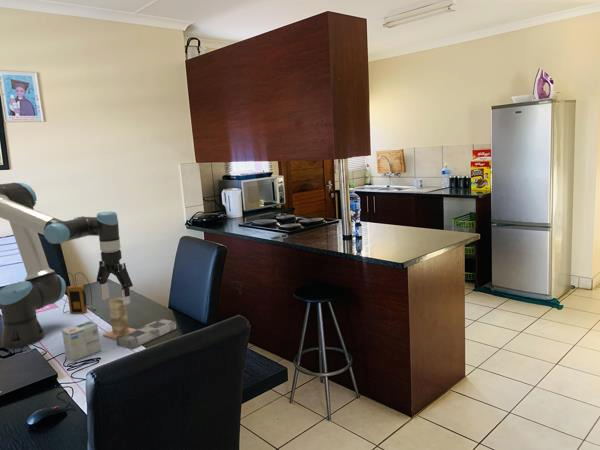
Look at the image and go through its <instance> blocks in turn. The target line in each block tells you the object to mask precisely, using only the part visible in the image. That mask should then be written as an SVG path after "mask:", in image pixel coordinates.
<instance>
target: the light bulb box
mask: <svg viewBox="0 0 600 450" xmlns="http://www.w3.org/2000/svg"><path fill="white" fill-rule="evenodd" d="M61 333H62V338H63V345H64V352H65V356H66V358H67V359H69V360H71V361H72V362H74V361H77V360H80V359H83V358H84V357H85V358H86V357H88V356H90V355H92V354H96V353H98V352H100V351H101V350H102V349H101V348H102V347H101V341H100V334H99V326H98V323H95V322H94V321H90V320H88V321H86V322H82V323H80V324H79V323H78V324H76V325H74V326H70V327H67V328H63V329H61Z"/></svg>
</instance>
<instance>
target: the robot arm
mask: <svg viewBox="0 0 600 450" xmlns="http://www.w3.org/2000/svg"><path fill="white" fill-rule="evenodd" d="M37 201H38V200H37V195H36V192H35V190H34V189H33V187H31V185H28V184H27V183H25V182H11V183H10V182H9V183H7V182H6V183H1V184H0V219H4V220H6V221H8V222H9V225H10V228H11V231H12V234H13V236H14V240H15V242H16V245H17V248H18V251H19V254H20V256H21V260H22V263H23V267H24V269H25V273H26V277H25V278H24V280H23V281H18V282H13V283H10V284H8V285H6V286H4V287H2V288H0V311H1V318H2V323H3V328H2V333H1V338H0V344H1V345H0V346H1V347H2V348H5V349H16V348H22V347H27V346H30V345H32V344H35V343H37V342H39V341H41V340H43V339H44V338H45V331H44V329H43V327H42V325H41V324H40V322H39V320H38V318H37V317H38V316H37V310H40V309H43V308H45V307H47V306H49V305H52V304H55V303H56V302H59V301H61V300H62V299H63V298H64V296H65V295H66V293H67V289H66V287H67V285H66V280H65V278H63V277H61V275H59V274H56V272H55V269H52V268H50V266H49V263H48V261H47V257H46V254H45V251H44V248H43V245H42V242H41V238H40V237H39V234H41V235H43V236H44V238H45V240H47V242H48V243H50V244H53V245H55V244H56V245H57V244H63V243H65V242H69V241H73V240H77V239H81V238H85V237H90V236H92V237H93V236H94V237H98V238H99V250H100V251H101V252H100V257H101V260H99V264H98V265H99V266H98V270H97V271H98V272H97V276H96V282H97V283H99V285H100V290H101V298H102V300H103V301H104V300H107V299H110V291H109V284H108V283H109V282H108V279H109V277H110V276H111V274H112V275H113V276H115V277H116V279H117V280H118V283H119V285H121V295H122V297H121V298H123V305H126V306H127V305H128V304H130V303H131V298H130V296H131V295H130V288H132V287H133V286H134V285H133V283H132V280H131V277H130V275H129V272H128V270H127V266H126V263H125V262H124V263H120V261H121V260H122V250H121V240H120V238H121V237H120V229H119V219H118V214H117V212H116V211H102V212H98V213H97V214H96V216H77V217H74V218H73V219H70V220H61V219H58V218H55V217H53V216H50V215H49V214H46V213H43V212H41V211H39V210H36V209H35V208H34V207H35V206H36V204H37Z"/></svg>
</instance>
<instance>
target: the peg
mask: <svg viewBox="0 0 600 450" xmlns="http://www.w3.org/2000/svg"><path fill="white" fill-rule="evenodd" d="M108 307H109V314H110V322H111V331H113V334H117V335H121V334H124V333H126V332H129V328H130V327H129V320H128V312H127V304H126V305H123V298H122V297H120V296H119V297H115V298H112V299H109V300H108Z"/></svg>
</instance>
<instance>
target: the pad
mask: <svg viewBox="0 0 600 450" xmlns="http://www.w3.org/2000/svg"><path fill="white" fill-rule="evenodd" d="M135 329H136V328H132V327H129V332H130V331H133V330H135ZM126 333H128V332H126ZM124 334H125V333H124ZM121 335H123V334H121ZM121 335H117V334H113V331H112V330H110V331H107V332H105V333H103V334H102V337H105V338H109V339H112V340H115V341H116V337H118V336H121Z"/></svg>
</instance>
